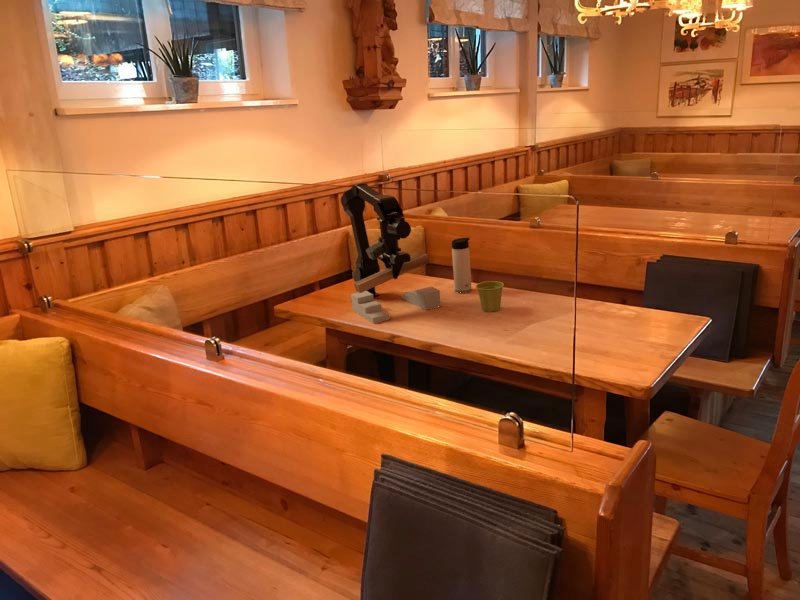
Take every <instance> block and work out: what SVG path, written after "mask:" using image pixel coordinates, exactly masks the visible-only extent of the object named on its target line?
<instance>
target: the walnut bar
mask: <svg viewBox="0 0 800 600" xmlns="http://www.w3.org/2000/svg"><path fill="white" fill-rule="evenodd" d="M429 263H430V258H429V254H427V253H426V252H421V253H419V254H416V255H415V256H412V257H411V261H409V262H404V263H403V265H402V268H401V270H400V273H399V275H398V277H400V276H402V275H404V274H406V273H409V272H411V271H413V270H416V269H417V268H420V267H422V266H424V265H427V264H429ZM393 279H394V277H393V273H392V268H391V267H389V268H387V269H386V268H385V269H382V270H380V272H378V273H376V274H373V275H371V276H369V277H366V278H364V279H362V280H360V281H357V282H355V281H354V283H353V285H354V288H355V291H356V293H358V292H359V293H362V292H364V291H367V290H369V289H371V288H373V287H375V288H376V287H378V286H379V285H383V284H385V283H386V282H389V281H391V280H393Z"/></svg>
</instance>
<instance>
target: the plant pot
mask: <svg viewBox="0 0 800 600" xmlns="http://www.w3.org/2000/svg"><path fill="white" fill-rule="evenodd" d="M504 286H505V284H504V283H503V282H501V281H495V280H487V281H482V282H479V283H476V285H475V288H476V289H477V290H476V291H477V293H478V296H479V297H478V298H479V301H480V307H481V310H482V311H483V312H486V313H490V312H498V311H500V310H501V305H502V304H501V303H502V291H503V287H504Z"/></svg>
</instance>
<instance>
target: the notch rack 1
mask: <svg viewBox="0 0 800 600" xmlns="http://www.w3.org/2000/svg"><path fill="white" fill-rule="evenodd" d="M350 296H351V297H350V298H351V307H352V311H353V312H355V313H357V314H358V315H359V316H361V317H363V318H364V319H366V320H367V321H369V322H371V323H372V324H378V323H381V322H385V320H386V321H390V320H389V319H390V314H389V313H388V312H387V311H385V310H383V309H382V304H381V303H380V302H378V301H376V300H375V299H374V298H375V297H373V294H371V293H370V292H368V291H364V292H362V293H359V292H355V293H351V294H350ZM377 322H378V323H377Z"/></svg>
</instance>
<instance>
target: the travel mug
mask: <svg viewBox="0 0 800 600" xmlns="http://www.w3.org/2000/svg"><path fill="white" fill-rule="evenodd" d="M470 240H471V239H470V237H460V238H455V239H453V240H452V241H451V254H452V256H451V257H452V270H453V282H454V283H453V285H454V287H453V288H454V292H455V293H456V292H458V293H457V294H466V293H465V292H468V293H470V292H472V289H473V288H472V276H471V274H472V273H471V259H470V255H471V254H470V245H469V244H470V243H469V241H470ZM469 291H470V292H469ZM460 292H461V293H460Z"/></svg>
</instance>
